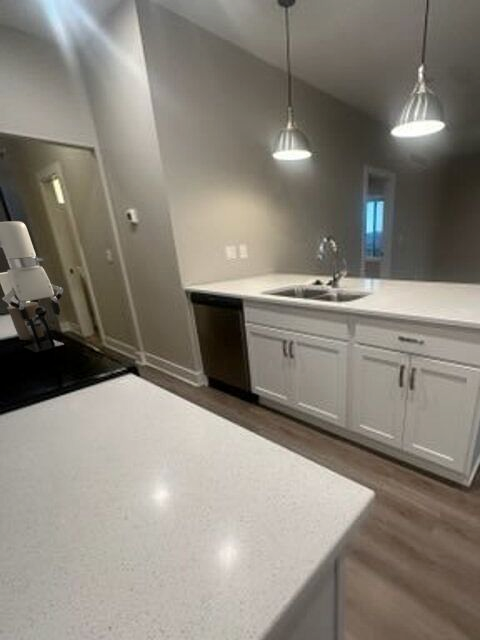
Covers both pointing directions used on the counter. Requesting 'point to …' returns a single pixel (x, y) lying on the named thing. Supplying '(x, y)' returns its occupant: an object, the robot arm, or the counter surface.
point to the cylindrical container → (7, 285)
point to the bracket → (37, 344)
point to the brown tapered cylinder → (20, 322)
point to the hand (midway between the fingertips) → (42, 317)
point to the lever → (38, 315)
